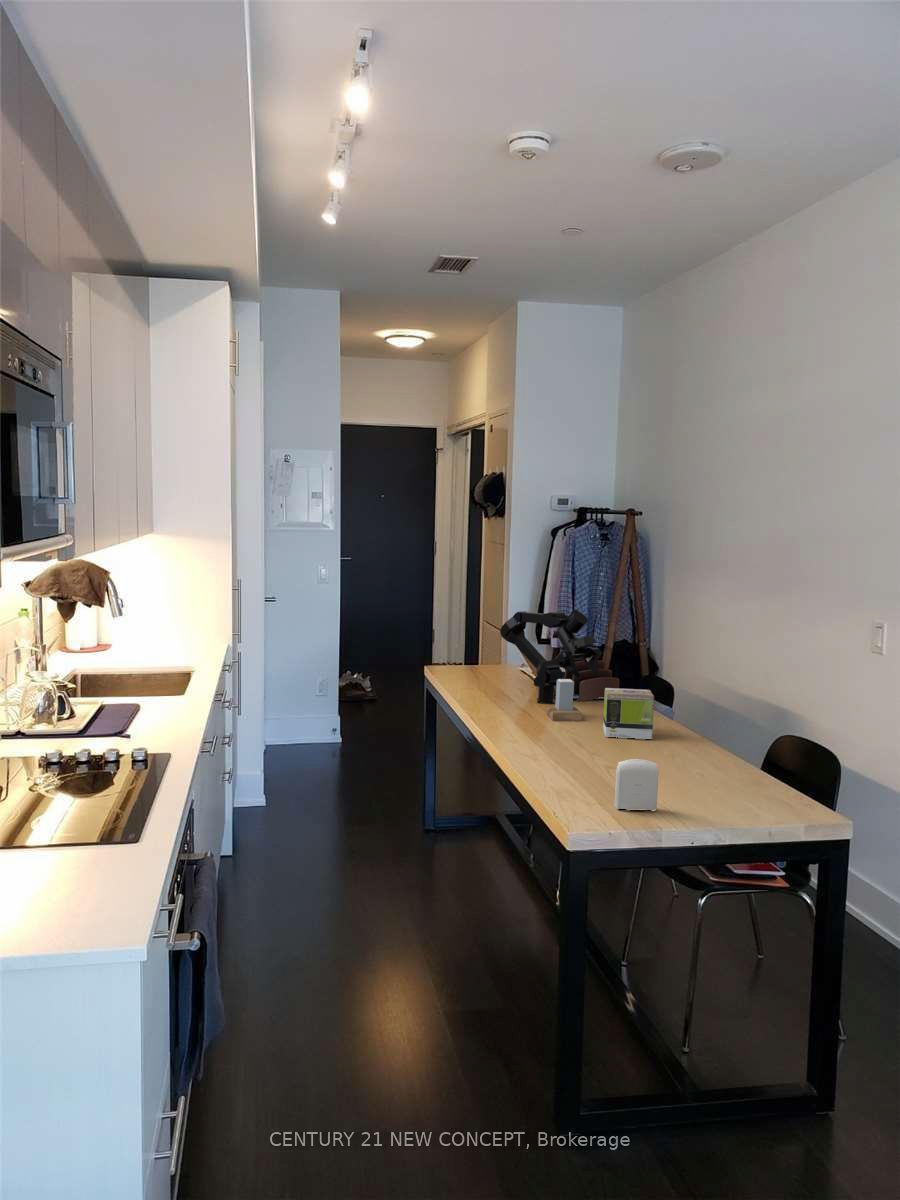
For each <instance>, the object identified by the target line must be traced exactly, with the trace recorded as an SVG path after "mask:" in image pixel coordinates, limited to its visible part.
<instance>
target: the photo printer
mask: <svg viewBox="0 0 900 1200" xmlns="http://www.w3.org/2000/svg"><path fill="white" fill-rule="evenodd" d="M615 771H616V773H615V785H614V786H615V790H614V808H615V807H616V808H618V809H646V810H654V809H656V808H657V807H658V795H659V794H658V791H659V790H658V789H659V788H658V787H659V773H660V771H659V769H658V764H657V763H655V762H654V761H651V760H647V759H640V758H639V759H635V758H634V759H631V758H630V759H626V760H622V761H619V762H617V766H616V770H615Z"/></svg>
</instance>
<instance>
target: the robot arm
mask: <svg viewBox="0 0 900 1200" xmlns="http://www.w3.org/2000/svg"><path fill="white" fill-rule="evenodd" d="M588 622H589V620H588V617H587V616H586V615H585V614H584V613H582V612H580V611H579V610H578V609H572V610H571V612H570V614H569V615H567V614H566V612H564V611H556V612H555V611H553V612H546V613H540V612H531V611H529V612H528V611H517V612H515V613H514V615H513V616H512V617H511V618H509V619H508V620H506V621H505V622H504V624H503V625H502V626H501V627H500V636H501V638H502V639H503V640H505V641H506V642H507V643H510V644H512V645H514V646H516V648H517V649H518V650H519V651H520V652H521V654H522V655H524V656H525V658H526V659H527V660H528V662H530V663H531V664H532V665H533V667H534V668H535V671H536V677H534V679H533V681H532V682H533V685H534V687H538V695H537V697H536V703H537V704H549V705H551V704H552V705H553V704H554V705H555V703H556V700H555V699H554V698H555V697H554V695H555V687H556V686H557V680H558V679H563V678H562V677H563V671H562V669H563V670H564V671H565V670H567V671H569V672H570V673H572V674H573V675H575V676H576V677H578V678H580V677H581V675H580V673H579V671H578V669H577V667H576V665H575V662H576V661H578V660H582V661H583V660H584V661H585V662H586V665H587V666H588V667H589V668H590V669H591V670H592V671H593V673H594V674H595V675H597V676H598V675H599V669H598V662H597V660H599V658H601V657H600V656H601V655H602V651H601V650H600V648H597V647H595V648H594V647H593V646H594V644H595V643H596V638H595V637H594V635H592V634H588V635H586V636H582V637H576V635H575V634H578V633H579V632H580V631H581V630H582V629H583V628H584V626H586V625H587V624H588ZM527 623H532V624H540V625H543V626H544V627H546V628H550V629H556V628H557V630H554V631H553V634H552V639H558V640H559V641H560V643H561V651H560V653H558V655H557V656H556V657H555V658H554V659H552V660H546V658H545V657H544V656H543V654H541V653H540V652H539V650H537V648H536V647H535V646H534V645H533V644H532V643H531V642H530V641H529V639H527V637H526V635H525V634H526V632H525V629H526V628H527ZM590 646H591V647H593V648H589V649H588V647H590ZM586 651H587V652H586Z"/></svg>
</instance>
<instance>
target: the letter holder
mask: <svg viewBox="0 0 900 1200" xmlns="http://www.w3.org/2000/svg"><path fill="white" fill-rule="evenodd" d="M574 662H575V665H576V667H577V669H578V671H579V673H580V675H581V677H580V678H578V677H576V676H575V675H573V674H572V673H570V672H569V671H567V670H565V669H564V679H571V680H572V681H573V682H574V694H579V698H576V699H577V700H578V701H579V702H578V701H577V702H578V703H580V701H582V702H589V701H588V700H592V701H594V700H593V699H595V698H599V697H604V695H605V688H620V679H619V678H618V677H613V671H612V670H611V669H607V668H606V662H605V661H604V660H601V659H600V660H599V659H598V660H597V662H598V669H599V675H598V676H597V675H595V674H594V673H593V671H592V670H591V669H590V668H589V667H588V666H587V665H586V662H585V661H584V660H583V659H582V660H575V661H574Z"/></svg>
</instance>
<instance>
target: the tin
mask: <svg viewBox="0 0 900 1200" xmlns="http://www.w3.org/2000/svg"><path fill="white" fill-rule="evenodd" d="M555 687H556V689H555V704H554V706H555V708H556V709H557V710H558V711H573V706H574V700H573V695H574V682H573V681H572V680H571V679H565V678H561V679H558V680H557V686H555Z"/></svg>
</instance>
